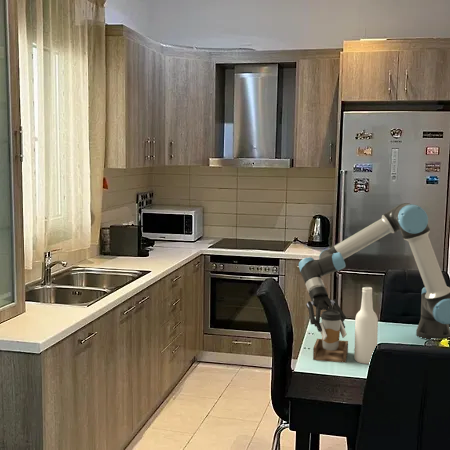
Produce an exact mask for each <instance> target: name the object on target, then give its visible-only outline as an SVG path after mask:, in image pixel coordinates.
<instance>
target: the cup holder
mask: <svg viewBox="0 0 450 450" xmlns="http://www.w3.org/2000/svg"><path fill="white" fill-rule="evenodd" d="M312 350H313V352H312V353H313V354H312V360H313V361H323V362H325V361H326V362H336V363H347V357H348V353H349V340H340V339H339V346H338V349H337V350H326V349H324V348H323V341H322V338H316V340H315V342H314V345H313V349H312Z"/></svg>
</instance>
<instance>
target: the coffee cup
mask: <svg viewBox="0 0 450 450" xmlns="http://www.w3.org/2000/svg"><path fill="white" fill-rule="evenodd" d="M320 320H321V322H322V324H323V326H324V329H325V332H326V334H327V337H326V339H325V340H323V338H322V337H321V339H322V341H323V348H324V349H326V350H337V349H338V346H339V340H340V335H341V333H340V324H341V315H340V312H338V311H326V310H322V311H321V314H320Z"/></svg>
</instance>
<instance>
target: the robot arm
mask: <svg viewBox="0 0 450 450" xmlns="http://www.w3.org/2000/svg"><path fill="white" fill-rule="evenodd" d="M399 231H400V233H401V235H402V238H403V240H404V241H407V242H408V244H409V248H410V250H411V253H412V255H413V257H414V261H415V263H416V266H417V268H418V269H417V270H418V271H419V274H420V277H421V279H422V282H423V285H424V287H423V288H422V289H421V303H420V320H419V323H418V325H417V327H416V334H415V335H416V336H417V337H418V336H419V337H418V338H420V337H422V338H421V339H423V338H426V339H425V340H427V339H431V338H446V337H450V286H447V283H446V280H445V277H444V275H443V273H442V270H441V267H440V265H439V261H438V259H437V256H436V254H435V250H434V248H433V245H432V242H431V239H430V237H429V234H430V232H431V228H430V225H429V217H428V214H427V212H426V211H425V209H424V208H422V206H420V205H418V204H414V203H413V204H412V203H410V202H409V203H408V202H405V203H400V204H397V206H395V207H393V208H392V209H390V210H389V211H387V212H385V213H384V214H382V215H381V218H380V219H378V220H376V221H374V222H373V223H371V224H370V225H368V226H366V227H364V228H362V229H361V230H359V231H357V232H356V233H354V234H352V235H351V236H348V237H347V238H345V239H344V240H342V241H340V242H338V243H336V244H335V245H334V246H332V247H330V248H329V249H324V250H322V251H321V252H320V253H319V257H318V259H316V260H315V259H314V258H313V257H304V258H301V259H300V261H299V262H298V268H299V272H300V274H301V277H302V279H303V282H304V285H305V287H306V290H307V292H308V295H309V298H310V300H308V301H307V303H306V307H307V309H308V310H307V311H308V315H309V322H310V325H314V327H316V329H317V332H319V333H320V335H321V339H322V338H323V340H325V339H326V337H327V334H326V332H325V329H324V326H323V324H322V321H321V314H322V311H338V312H340V315H341V324H340V335H341V337H342V338H344V339H345V337H346V336H347V332H346V326H345V323H344V321H345V320H346V319H347V317H346V315H345V314H344V311H343V310H342V308H341V307H340V304H339V303H338V299H337V298H334V299H330V297H329V294H328V292H327V289H326V287H325V284H324V281H323V279H322V277H324V276H327V275H329V274H333V273H335V272H339V271H340V270H343V269H345V268H346V262H345V259H347V258H349V257H350V256H352V255H354V254H356V253H357V252H359V251H361V250H363V249H365V248H366V247H368V246H369V245H371V244H374V243H375V242H377V241H378V240H380V239H382V238H384V237H385V236H387V235H389V234H395V233H397V232H399ZM314 307H315V310H314Z"/></svg>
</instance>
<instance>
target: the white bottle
mask: <svg viewBox="0 0 450 450" xmlns="http://www.w3.org/2000/svg"><path fill="white" fill-rule="evenodd" d="M361 289H362V290H361V292H362V293H361V303H360V309H359V310H358V312H357V313H356V315H355V318H354V319H355V320H354V321H355V322H354V323H355V324H354V327H355V328H354V356H353V357H354V361H356V362H357V363H359V364H363V365H370V364H369V362H370V359H371V356H372V353H373V351H374V349H375V347H376V345H377V346H378V334H379V333H378V330H379V329H378V328H379V324H378V323H379V319H378V315H377V313H376V312H375V311H374V304H373V303H374V302H373V288H372V287H371V286H365V287H362V288H361Z"/></svg>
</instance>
